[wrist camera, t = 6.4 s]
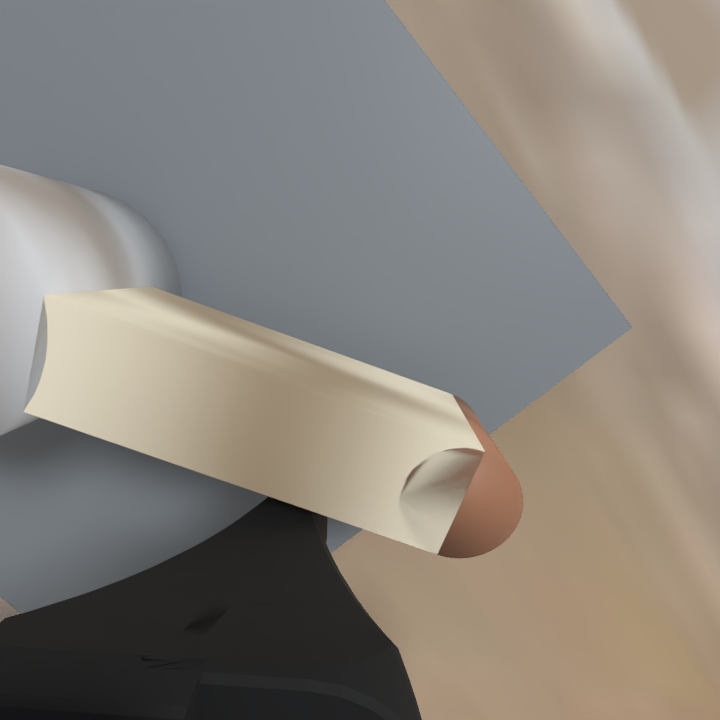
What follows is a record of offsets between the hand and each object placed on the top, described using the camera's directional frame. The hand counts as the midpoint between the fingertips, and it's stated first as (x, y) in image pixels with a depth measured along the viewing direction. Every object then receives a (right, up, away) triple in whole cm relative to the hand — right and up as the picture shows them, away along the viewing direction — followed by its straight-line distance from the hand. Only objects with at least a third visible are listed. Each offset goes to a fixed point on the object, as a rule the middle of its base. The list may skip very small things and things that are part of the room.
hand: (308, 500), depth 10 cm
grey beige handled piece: (-2, +4, 0) cm, 5 cm away
